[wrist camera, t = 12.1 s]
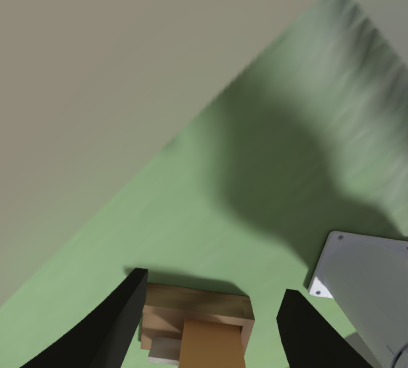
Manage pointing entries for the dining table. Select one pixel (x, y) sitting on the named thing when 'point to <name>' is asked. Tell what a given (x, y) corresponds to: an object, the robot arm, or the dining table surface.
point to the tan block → (211, 345)
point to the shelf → (187, 308)
